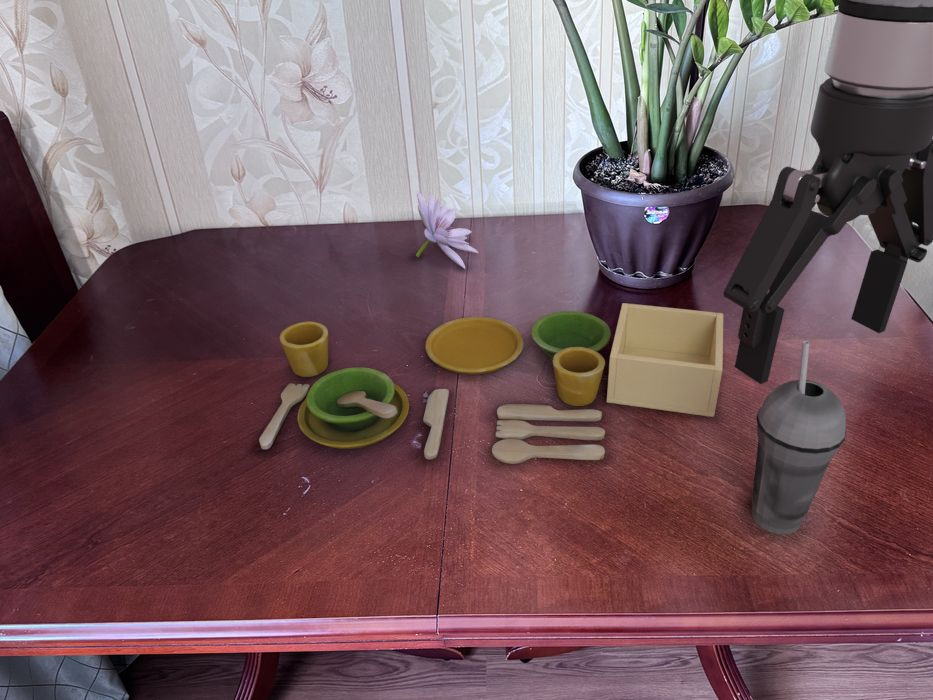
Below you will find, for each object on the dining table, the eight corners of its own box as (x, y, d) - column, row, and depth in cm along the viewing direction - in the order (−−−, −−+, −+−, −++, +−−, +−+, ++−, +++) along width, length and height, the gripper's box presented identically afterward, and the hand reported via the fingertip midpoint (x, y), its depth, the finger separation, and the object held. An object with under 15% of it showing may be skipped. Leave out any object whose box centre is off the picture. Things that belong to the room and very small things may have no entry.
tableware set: (243, 454, 82) (230, 410, 78) (314, 322, 104) (306, 283, 101) (619, 469, 77) (623, 423, 73) (606, 327, 99) (609, 286, 96)
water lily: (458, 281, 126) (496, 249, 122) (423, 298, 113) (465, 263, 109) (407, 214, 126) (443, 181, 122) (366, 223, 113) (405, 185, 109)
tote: (715, 357, 92) (723, 313, 89) (713, 417, 83) (722, 370, 79) (618, 346, 96) (622, 302, 92) (606, 402, 86) (609, 356, 82)
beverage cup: (818, 553, 66) (877, 376, 55) (734, 536, 69) (774, 362, 57) (815, 497, 72) (867, 326, 61) (737, 483, 74) (774, 315, 63)
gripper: (948, 45, 56) (873, 289, 67) (698, 101, 46) (662, 372, 58) (1054, 63, 50) (952, 325, 62) (793, 131, 41) (732, 424, 53)
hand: (811, 348), depth 60 cm, fingers open, 13 cm apart
